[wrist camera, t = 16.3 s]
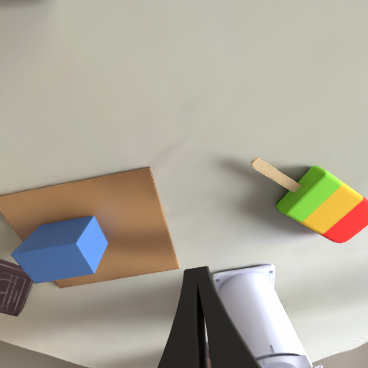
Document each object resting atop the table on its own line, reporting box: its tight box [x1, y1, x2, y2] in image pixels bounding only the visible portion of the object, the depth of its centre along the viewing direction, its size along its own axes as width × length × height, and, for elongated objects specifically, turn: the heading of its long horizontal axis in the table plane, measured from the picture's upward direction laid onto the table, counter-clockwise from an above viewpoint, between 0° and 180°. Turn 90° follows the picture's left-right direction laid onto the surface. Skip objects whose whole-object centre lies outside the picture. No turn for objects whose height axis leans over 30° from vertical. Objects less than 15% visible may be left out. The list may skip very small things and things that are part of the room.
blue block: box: [11, 216, 108, 283], centre depth 19 cm, size 4×4×6 cm
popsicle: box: [251, 158, 368, 243], centre depth 19 cm, size 6×15×2 cm, turn 59°
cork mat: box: [0, 167, 179, 288], centre depth 21 cm, size 14×16×1 cm
